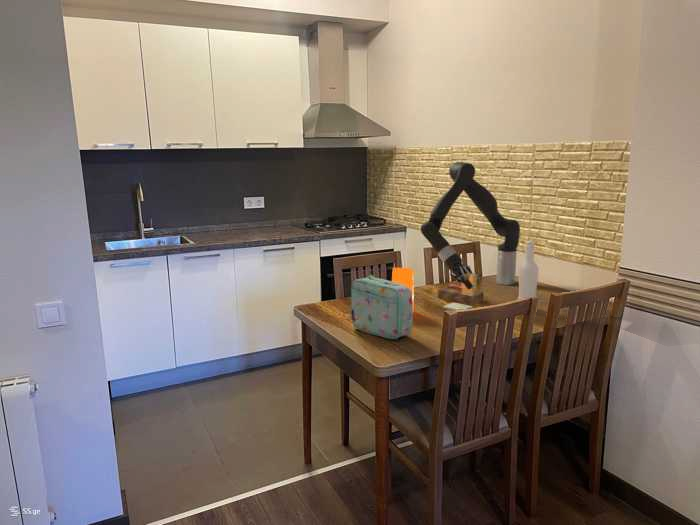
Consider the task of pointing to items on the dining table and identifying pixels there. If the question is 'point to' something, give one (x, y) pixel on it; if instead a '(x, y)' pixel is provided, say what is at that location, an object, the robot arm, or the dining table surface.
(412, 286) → the orange juice
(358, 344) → the dining table surface
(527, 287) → the bottle
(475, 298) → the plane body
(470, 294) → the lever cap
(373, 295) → the lunch box
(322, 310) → the dining table surface
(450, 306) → the pad
